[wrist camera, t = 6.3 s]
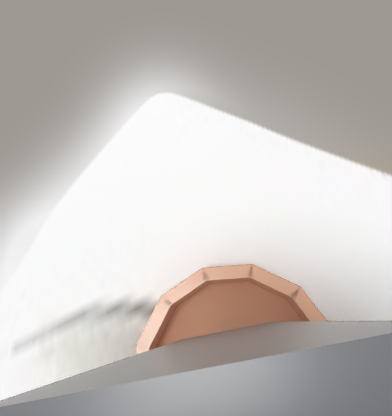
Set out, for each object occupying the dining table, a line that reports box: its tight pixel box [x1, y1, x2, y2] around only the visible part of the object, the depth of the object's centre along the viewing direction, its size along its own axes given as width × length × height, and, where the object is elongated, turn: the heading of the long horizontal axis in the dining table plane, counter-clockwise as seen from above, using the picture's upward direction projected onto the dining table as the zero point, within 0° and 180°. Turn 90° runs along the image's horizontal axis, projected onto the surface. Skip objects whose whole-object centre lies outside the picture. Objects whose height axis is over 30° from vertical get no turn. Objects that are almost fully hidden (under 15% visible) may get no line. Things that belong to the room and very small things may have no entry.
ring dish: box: [136, 264, 327, 355], centre depth 18 cm, size 12×12×3 cm
